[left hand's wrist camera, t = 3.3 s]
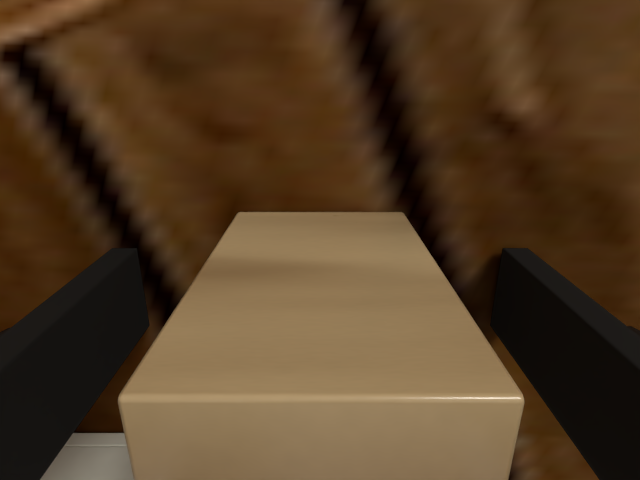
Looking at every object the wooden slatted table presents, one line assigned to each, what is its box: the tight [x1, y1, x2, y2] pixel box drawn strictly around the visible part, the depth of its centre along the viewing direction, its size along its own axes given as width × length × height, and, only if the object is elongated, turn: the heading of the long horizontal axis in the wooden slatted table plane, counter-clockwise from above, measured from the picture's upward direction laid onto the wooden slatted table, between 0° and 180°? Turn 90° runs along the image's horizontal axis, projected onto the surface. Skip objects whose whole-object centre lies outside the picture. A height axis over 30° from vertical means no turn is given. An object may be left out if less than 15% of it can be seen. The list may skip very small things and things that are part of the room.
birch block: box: [118, 212, 524, 480], centre depth 10 cm, size 5×5×8 cm
